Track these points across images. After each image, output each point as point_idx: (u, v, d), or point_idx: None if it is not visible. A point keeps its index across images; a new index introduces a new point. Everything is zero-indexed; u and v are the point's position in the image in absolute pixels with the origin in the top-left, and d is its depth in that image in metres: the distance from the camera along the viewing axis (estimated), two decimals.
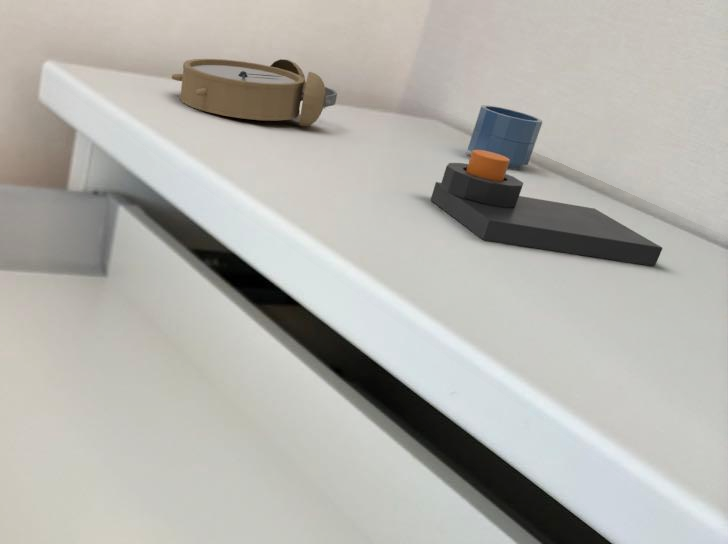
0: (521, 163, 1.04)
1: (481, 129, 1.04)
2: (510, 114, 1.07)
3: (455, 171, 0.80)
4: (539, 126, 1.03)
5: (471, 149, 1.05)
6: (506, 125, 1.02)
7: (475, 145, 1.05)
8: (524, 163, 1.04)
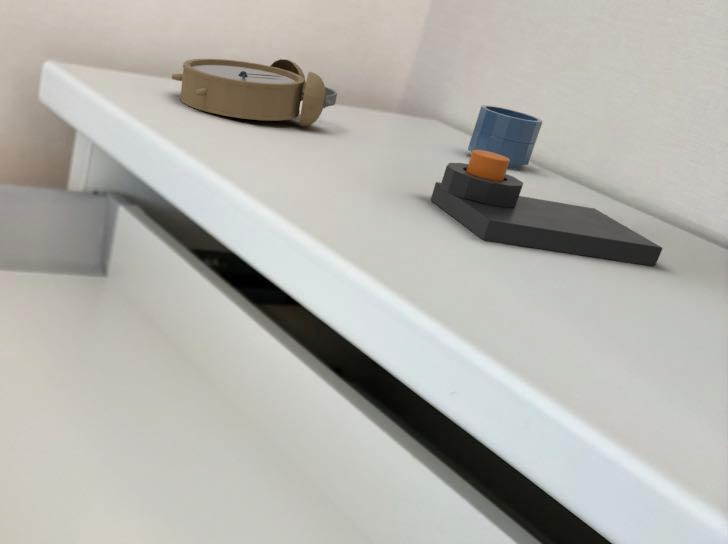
0: (521, 163, 1.04)
1: (481, 129, 1.04)
2: (510, 114, 1.07)
3: (455, 171, 0.80)
4: (539, 126, 1.03)
5: (471, 149, 1.05)
6: (506, 125, 1.02)
7: (475, 145, 1.05)
8: (524, 163, 1.04)
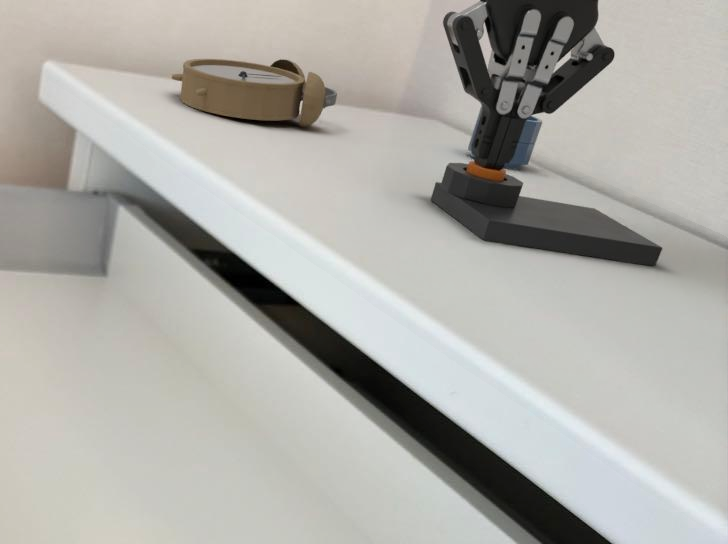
0: (521, 163, 1.04)
1: None
2: None
3: (455, 171, 0.80)
4: (539, 126, 1.03)
5: None
6: None
7: None
8: (524, 163, 1.04)
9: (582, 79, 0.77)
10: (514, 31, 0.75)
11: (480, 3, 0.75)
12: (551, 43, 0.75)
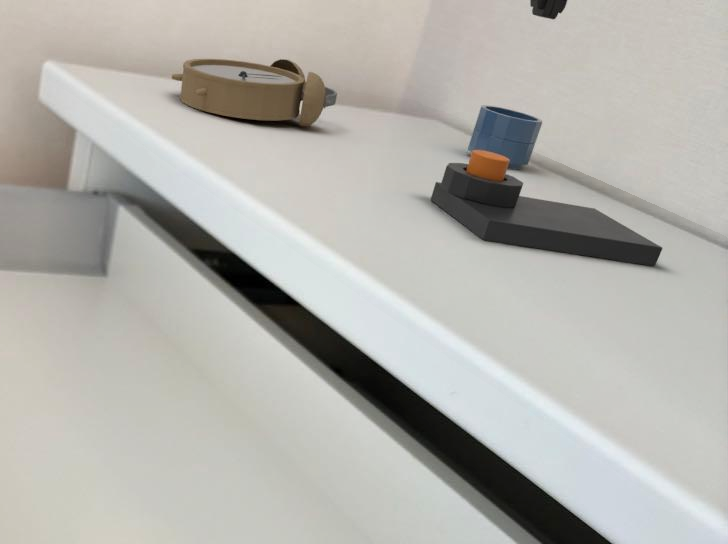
0: (521, 163, 1.04)
1: (481, 129, 1.04)
2: (510, 114, 1.07)
3: (455, 171, 0.80)
4: (539, 126, 1.03)
5: (471, 149, 1.05)
6: (506, 125, 1.02)
7: (475, 145, 1.05)
8: (524, 163, 1.04)
9: None
10: None
11: None
12: None
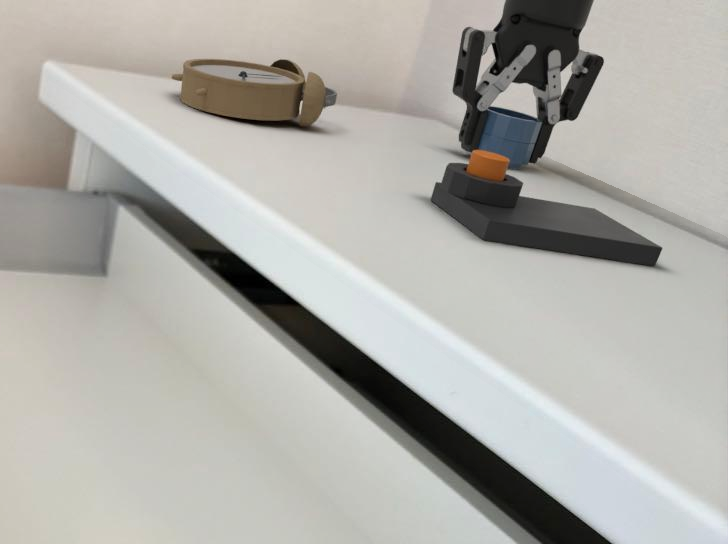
0: (521, 163, 1.04)
1: None
2: (510, 114, 1.07)
3: (455, 171, 0.80)
4: (539, 126, 1.03)
5: None
6: (506, 125, 1.02)
7: None
8: (524, 163, 1.04)
9: (587, 86, 1.03)
10: None
11: None
12: (550, 71, 1.01)
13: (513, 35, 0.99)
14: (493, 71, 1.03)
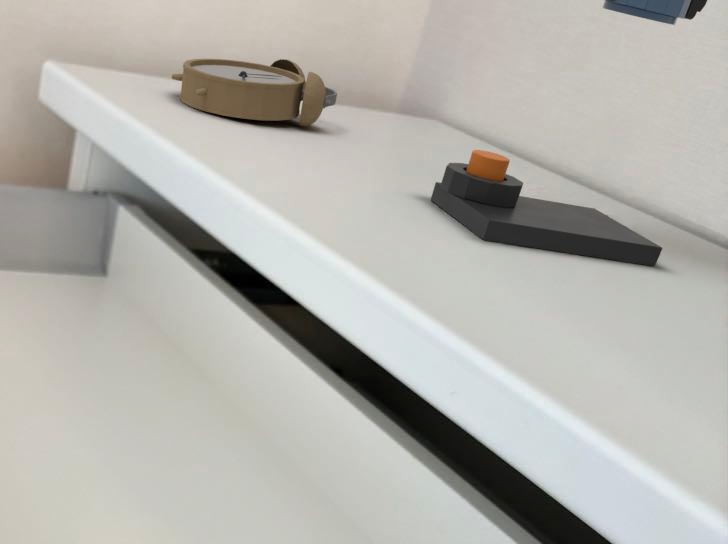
0: (677, 14, 0.76)
1: None
2: None
3: (455, 171, 0.80)
4: None
5: None
6: None
7: None
8: (680, 15, 0.76)
9: None
10: None
11: None
12: None
13: None
14: None
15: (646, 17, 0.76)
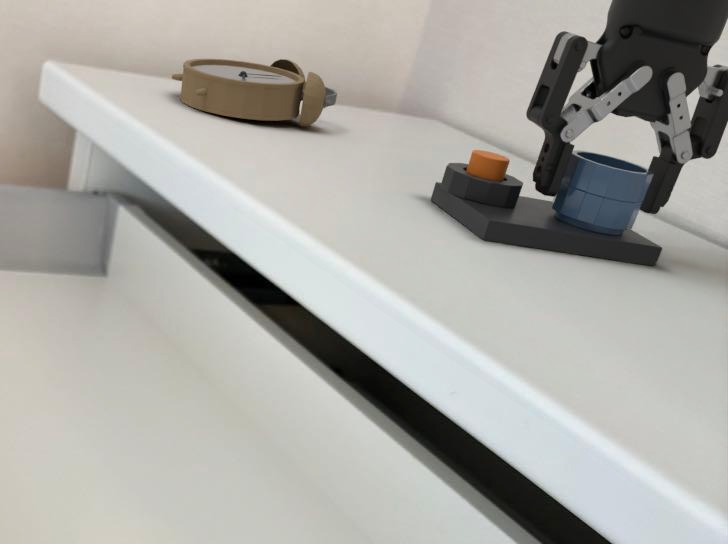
0: (624, 228, 0.79)
1: (572, 183, 0.78)
2: (607, 161, 0.81)
3: (455, 171, 0.80)
4: (650, 179, 0.78)
5: (557, 208, 0.80)
6: (607, 179, 0.77)
7: (563, 204, 0.79)
8: (628, 227, 0.79)
9: (725, 111, 0.77)
10: None
11: None
12: (672, 100, 0.75)
13: (622, 54, 0.74)
14: (586, 94, 0.77)
15: (595, 231, 0.79)
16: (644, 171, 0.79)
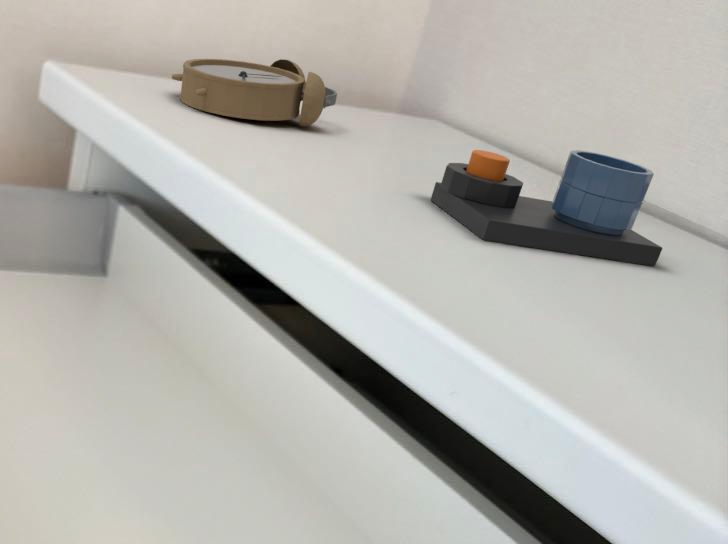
0: (624, 228, 0.79)
1: (572, 183, 0.78)
2: (607, 161, 0.81)
3: (455, 171, 0.80)
4: (650, 179, 0.78)
5: (557, 208, 0.80)
6: (607, 179, 0.77)
7: (563, 204, 0.79)
8: (628, 227, 0.79)
9: None
10: None
11: None
12: None
13: None
14: None
15: (595, 231, 0.79)
16: (644, 171, 0.79)
